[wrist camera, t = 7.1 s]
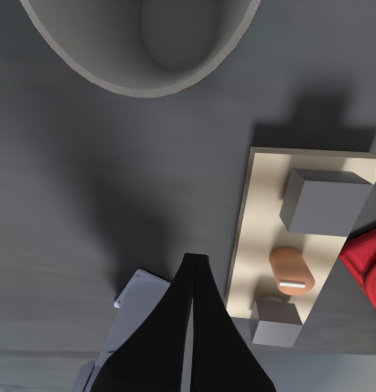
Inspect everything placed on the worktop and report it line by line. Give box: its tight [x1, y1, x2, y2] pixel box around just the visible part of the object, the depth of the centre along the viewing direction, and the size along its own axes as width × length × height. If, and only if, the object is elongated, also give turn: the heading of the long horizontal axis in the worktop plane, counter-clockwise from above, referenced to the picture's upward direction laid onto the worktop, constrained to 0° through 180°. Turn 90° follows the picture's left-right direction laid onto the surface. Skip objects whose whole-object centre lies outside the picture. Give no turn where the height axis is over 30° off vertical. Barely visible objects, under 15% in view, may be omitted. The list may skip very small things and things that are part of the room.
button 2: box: [279, 168, 374, 237], centre depth 16 cm, size 4×4×2 cm
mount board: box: [224, 147, 376, 324], centre depth 22 cm, size 22×10×3 cm, turn 179°
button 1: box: [249, 300, 303, 348], centre depth 23 cm, size 4×4×2 cm
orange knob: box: [269, 246, 315, 295], centre depth 20 cm, size 3×3×3 cm
